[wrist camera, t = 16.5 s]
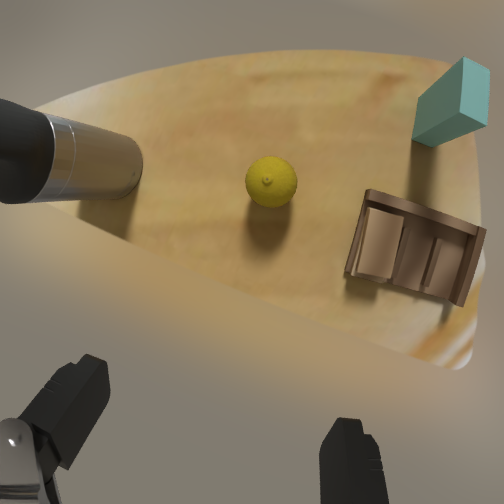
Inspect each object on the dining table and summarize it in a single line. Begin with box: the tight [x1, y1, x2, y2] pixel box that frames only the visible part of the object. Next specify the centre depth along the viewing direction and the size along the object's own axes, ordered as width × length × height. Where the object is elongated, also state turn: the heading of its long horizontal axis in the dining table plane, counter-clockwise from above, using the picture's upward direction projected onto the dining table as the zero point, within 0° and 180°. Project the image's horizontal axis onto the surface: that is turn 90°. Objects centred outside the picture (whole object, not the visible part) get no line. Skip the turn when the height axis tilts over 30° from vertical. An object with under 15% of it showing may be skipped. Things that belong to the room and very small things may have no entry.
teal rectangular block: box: [411, 56, 490, 148], centre depth 26 cm, size 3×6×14 cm, turn 165°
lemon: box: [245, 156, 297, 208], centre depth 34 cm, size 6×6×8 cm
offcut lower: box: [349, 207, 390, 284], centre depth 35 cm, size 4×8×2 cm, turn 166°
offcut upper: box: [355, 209, 404, 279], centre depth 33 cm, size 4×7×2 cm, turn 170°
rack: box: [344, 189, 486, 307], centre depth 34 cm, size 16×10×4 cm, turn 76°
